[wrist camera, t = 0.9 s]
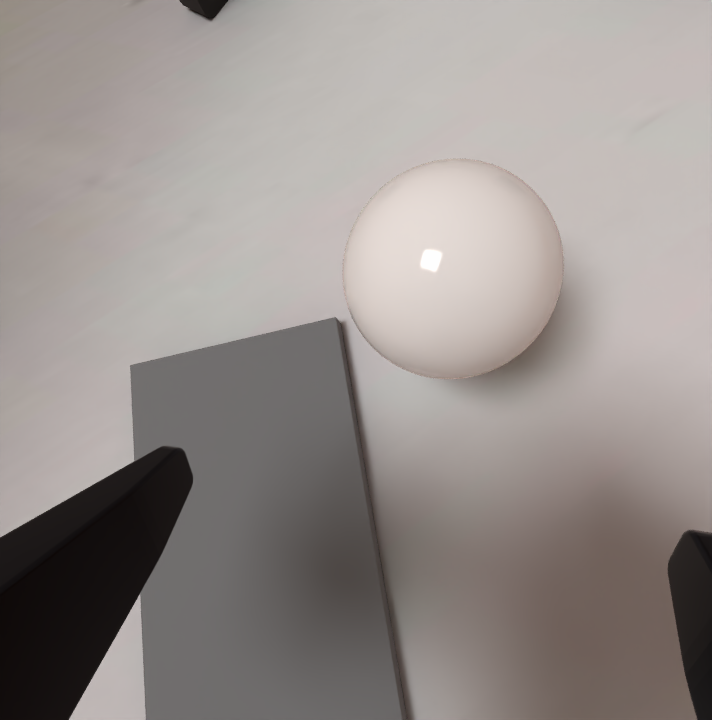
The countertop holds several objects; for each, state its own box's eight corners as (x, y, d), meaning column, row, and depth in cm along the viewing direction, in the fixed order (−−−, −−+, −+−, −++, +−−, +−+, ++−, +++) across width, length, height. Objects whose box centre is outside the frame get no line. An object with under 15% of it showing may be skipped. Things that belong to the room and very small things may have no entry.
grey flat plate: (411, 747, 18) (409, 764, 17) (163, 765, 20) (148, 781, 19) (340, 323, 22) (335, 317, 22) (142, 368, 24) (130, 365, 23)
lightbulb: (551, 325, 20) (654, 180, 10) (464, 436, 20) (475, 410, 10) (437, 251, 22) (421, 65, 12) (356, 353, 22) (267, 255, 12)
